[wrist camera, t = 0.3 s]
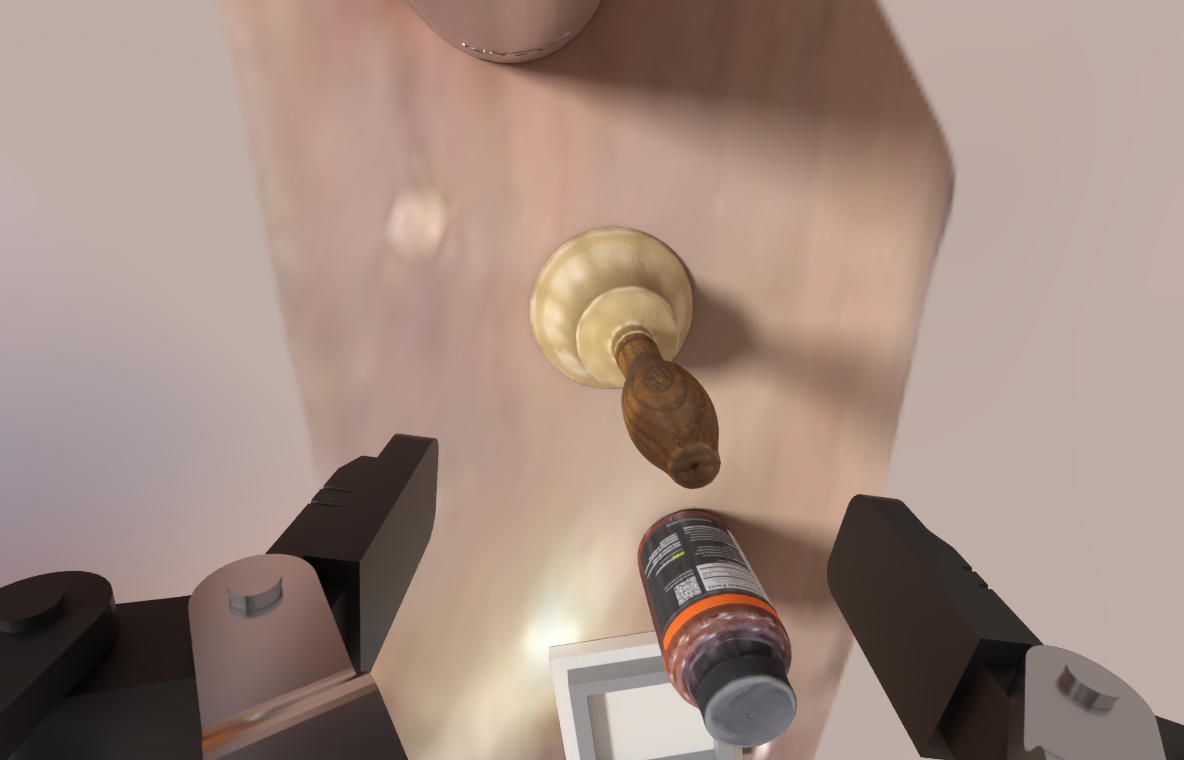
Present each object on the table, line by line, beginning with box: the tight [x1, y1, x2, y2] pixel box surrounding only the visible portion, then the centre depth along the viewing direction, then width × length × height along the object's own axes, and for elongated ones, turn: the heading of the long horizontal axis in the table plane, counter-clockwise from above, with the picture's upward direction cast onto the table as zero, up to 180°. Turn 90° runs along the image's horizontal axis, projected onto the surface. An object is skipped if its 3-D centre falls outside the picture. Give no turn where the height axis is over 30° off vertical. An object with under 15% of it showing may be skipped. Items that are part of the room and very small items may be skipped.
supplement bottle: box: [638, 510, 797, 748], centre depth 29 cm, size 6×6×11 cm
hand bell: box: [530, 227, 721, 489], centre depth 21 cm, size 8×8×16 cm
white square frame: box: [549, 631, 743, 760], centre depth 37 cm, size 12×12×2 cm
